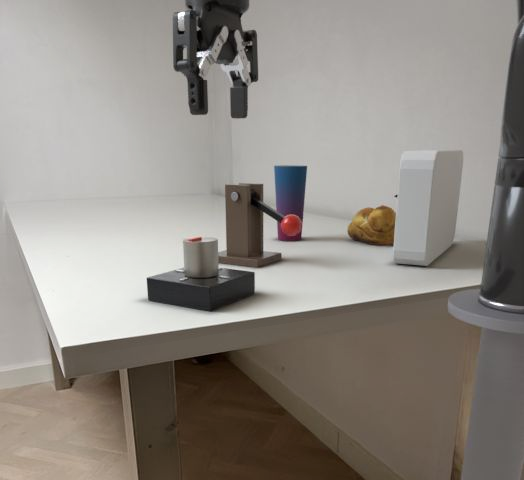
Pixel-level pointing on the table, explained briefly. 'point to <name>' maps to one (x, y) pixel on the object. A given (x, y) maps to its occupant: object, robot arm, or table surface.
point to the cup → (290, 195)
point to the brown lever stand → (245, 228)
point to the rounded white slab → (426, 205)
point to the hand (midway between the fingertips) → (220, 116)
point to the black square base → (201, 288)
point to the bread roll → (373, 226)
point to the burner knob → (200, 257)
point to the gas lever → (279, 216)
